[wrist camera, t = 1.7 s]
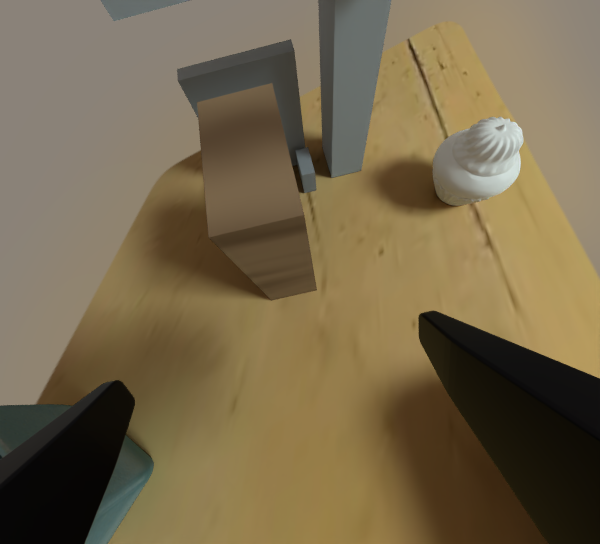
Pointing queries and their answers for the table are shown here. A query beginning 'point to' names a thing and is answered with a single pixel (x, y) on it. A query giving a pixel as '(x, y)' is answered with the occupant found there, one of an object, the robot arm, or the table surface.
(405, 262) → the table surface
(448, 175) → the muffin
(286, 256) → the brown wooden block
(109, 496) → the flower pot
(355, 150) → the grey gallows bracket
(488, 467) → the table surface
